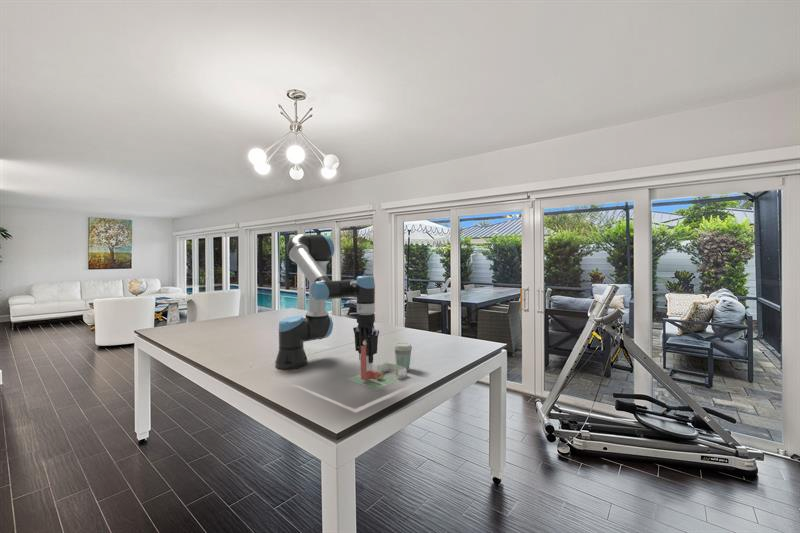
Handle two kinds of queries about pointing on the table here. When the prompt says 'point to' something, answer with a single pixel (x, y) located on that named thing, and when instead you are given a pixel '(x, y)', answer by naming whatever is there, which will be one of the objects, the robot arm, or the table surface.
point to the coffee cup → (403, 354)
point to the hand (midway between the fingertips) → (366, 369)
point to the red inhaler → (365, 374)
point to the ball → (380, 375)
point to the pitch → (374, 381)
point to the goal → (393, 369)
